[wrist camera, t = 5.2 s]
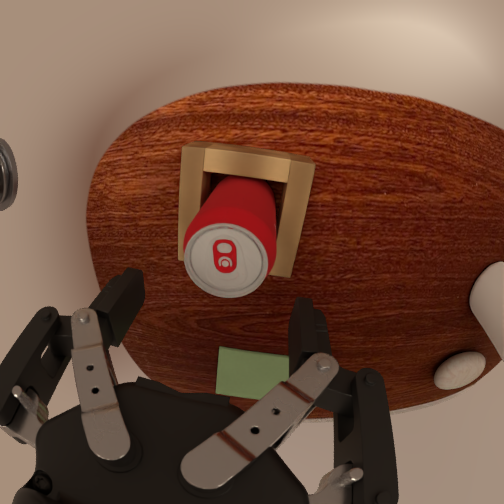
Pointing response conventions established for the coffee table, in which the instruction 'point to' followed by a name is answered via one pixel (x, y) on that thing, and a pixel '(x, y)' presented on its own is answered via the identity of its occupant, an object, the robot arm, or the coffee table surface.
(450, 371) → the decorative stone
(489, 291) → the wine bottle
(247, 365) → the pad
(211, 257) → the beverage can
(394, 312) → the coffee table surface
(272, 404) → the robot arm
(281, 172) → the stand
